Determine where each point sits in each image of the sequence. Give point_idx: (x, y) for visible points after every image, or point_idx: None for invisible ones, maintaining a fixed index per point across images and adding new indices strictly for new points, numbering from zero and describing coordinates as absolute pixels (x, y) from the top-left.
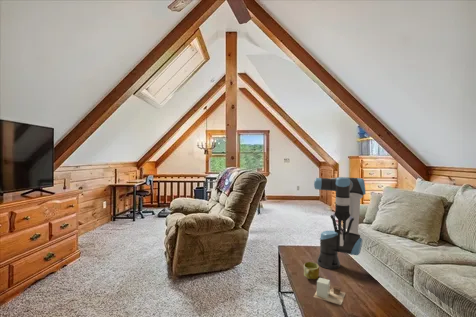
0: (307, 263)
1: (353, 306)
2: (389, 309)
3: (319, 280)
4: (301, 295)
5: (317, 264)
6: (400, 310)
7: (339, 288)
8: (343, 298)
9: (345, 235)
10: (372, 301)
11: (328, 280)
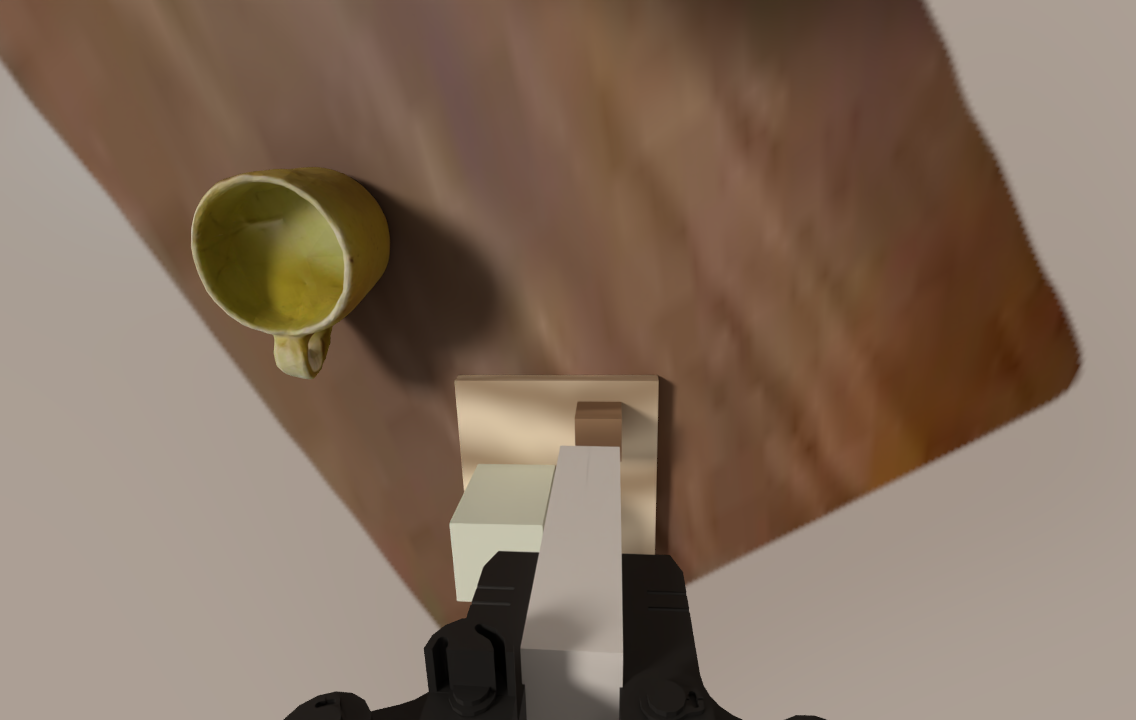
0: (211, 215)
1: (726, 498)
2: (969, 408)
3: (468, 571)
4: (394, 542)
5: (312, 201)
6: (1049, 379)
7: (618, 444)
8: (656, 472)
9: (696, 678)
10: (854, 361)
11: (532, 536)
